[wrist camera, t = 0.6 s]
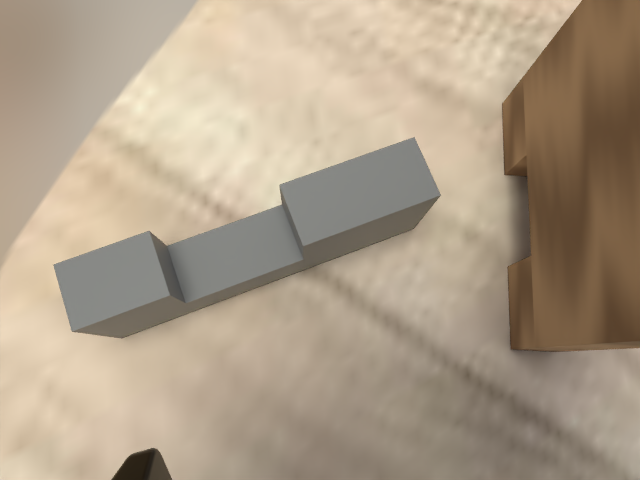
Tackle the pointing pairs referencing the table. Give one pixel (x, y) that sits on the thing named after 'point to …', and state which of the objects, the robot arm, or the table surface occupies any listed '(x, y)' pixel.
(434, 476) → the table surface
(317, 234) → the charcoal rail
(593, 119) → the walnut plate
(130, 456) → the robot arm
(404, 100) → the table surface
